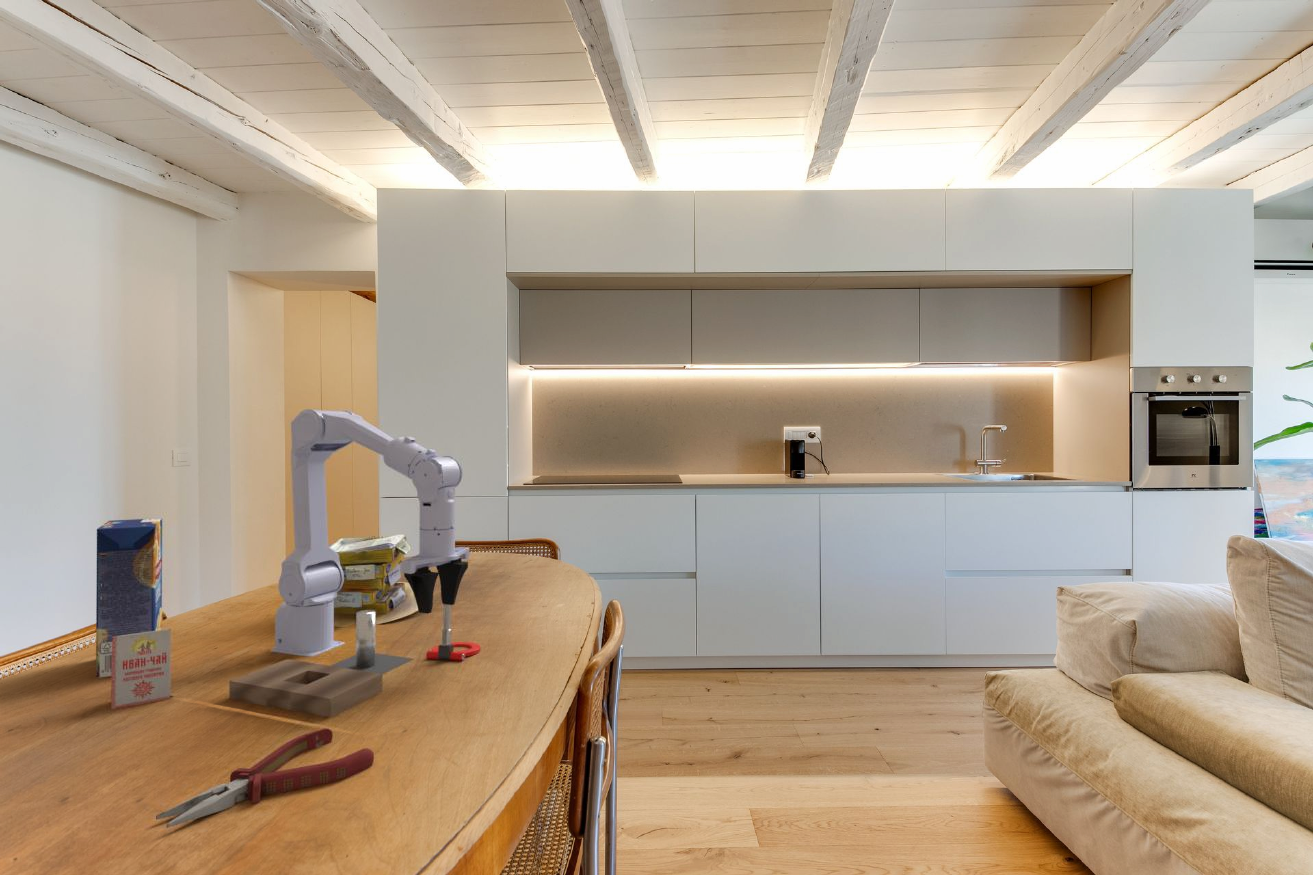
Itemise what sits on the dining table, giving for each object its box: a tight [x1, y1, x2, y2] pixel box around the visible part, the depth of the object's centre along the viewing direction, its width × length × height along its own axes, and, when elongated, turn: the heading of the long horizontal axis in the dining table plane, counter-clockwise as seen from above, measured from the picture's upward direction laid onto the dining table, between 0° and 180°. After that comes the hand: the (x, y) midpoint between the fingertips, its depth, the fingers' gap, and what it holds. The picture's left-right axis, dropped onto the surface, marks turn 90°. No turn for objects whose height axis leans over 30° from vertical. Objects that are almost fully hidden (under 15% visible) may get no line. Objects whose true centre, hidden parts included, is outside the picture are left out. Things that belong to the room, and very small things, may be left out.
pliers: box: [155, 728, 375, 829], centre depth 74 cm, size 12×20×3 cm, turn 145°
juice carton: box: [95, 517, 163, 679], centre depth 113 cm, size 12×8×24 cm, turn 32°
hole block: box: [228, 659, 383, 719], centre depth 99 cm, size 19×10×3 cm, turn 71°
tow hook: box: [425, 604, 481, 661], centre depth 119 cm, size 8×13×9 cm
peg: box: [355, 610, 377, 668], centre depth 111 cm, size 3×3×9 cm
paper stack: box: [328, 533, 419, 628], centre depth 147 cm, size 25×25×17 cm
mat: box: [329, 652, 414, 675], centre depth 111 cm, size 11×11×1 cm
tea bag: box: [110, 628, 172, 710], centre depth 97 cm, size 4×7×10 cm, turn 126°
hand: (437, 608), depth 111 cm, fingers open, 5 cm apart
